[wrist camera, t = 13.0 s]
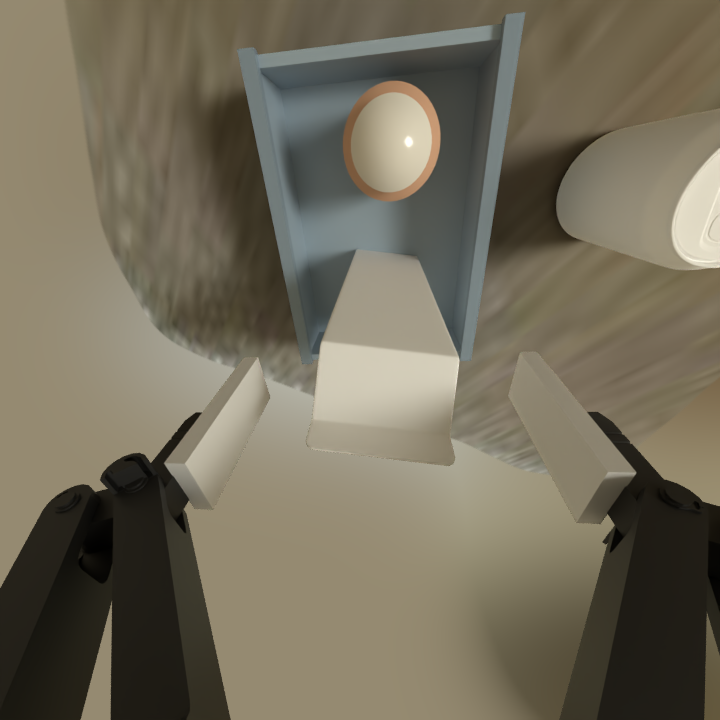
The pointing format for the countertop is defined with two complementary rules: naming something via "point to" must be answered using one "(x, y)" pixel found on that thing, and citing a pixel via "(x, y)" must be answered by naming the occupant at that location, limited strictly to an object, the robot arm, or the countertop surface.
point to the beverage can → (650, 192)
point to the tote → (353, 207)
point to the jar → (391, 141)
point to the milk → (385, 366)
